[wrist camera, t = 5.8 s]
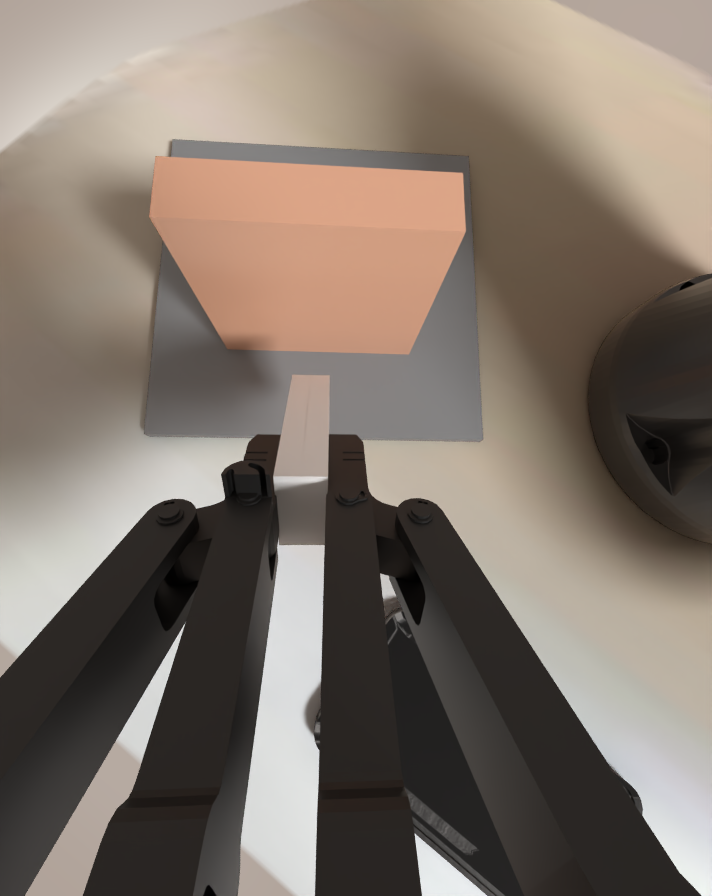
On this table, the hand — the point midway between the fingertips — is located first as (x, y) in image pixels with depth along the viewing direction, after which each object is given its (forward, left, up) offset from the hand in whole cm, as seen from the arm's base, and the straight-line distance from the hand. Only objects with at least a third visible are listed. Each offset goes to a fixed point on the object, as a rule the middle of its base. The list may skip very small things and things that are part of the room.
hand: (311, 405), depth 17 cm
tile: (+2, -5, -5) cm, 8 cm away
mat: (+3, -8, -6) cm, 10 cm away
